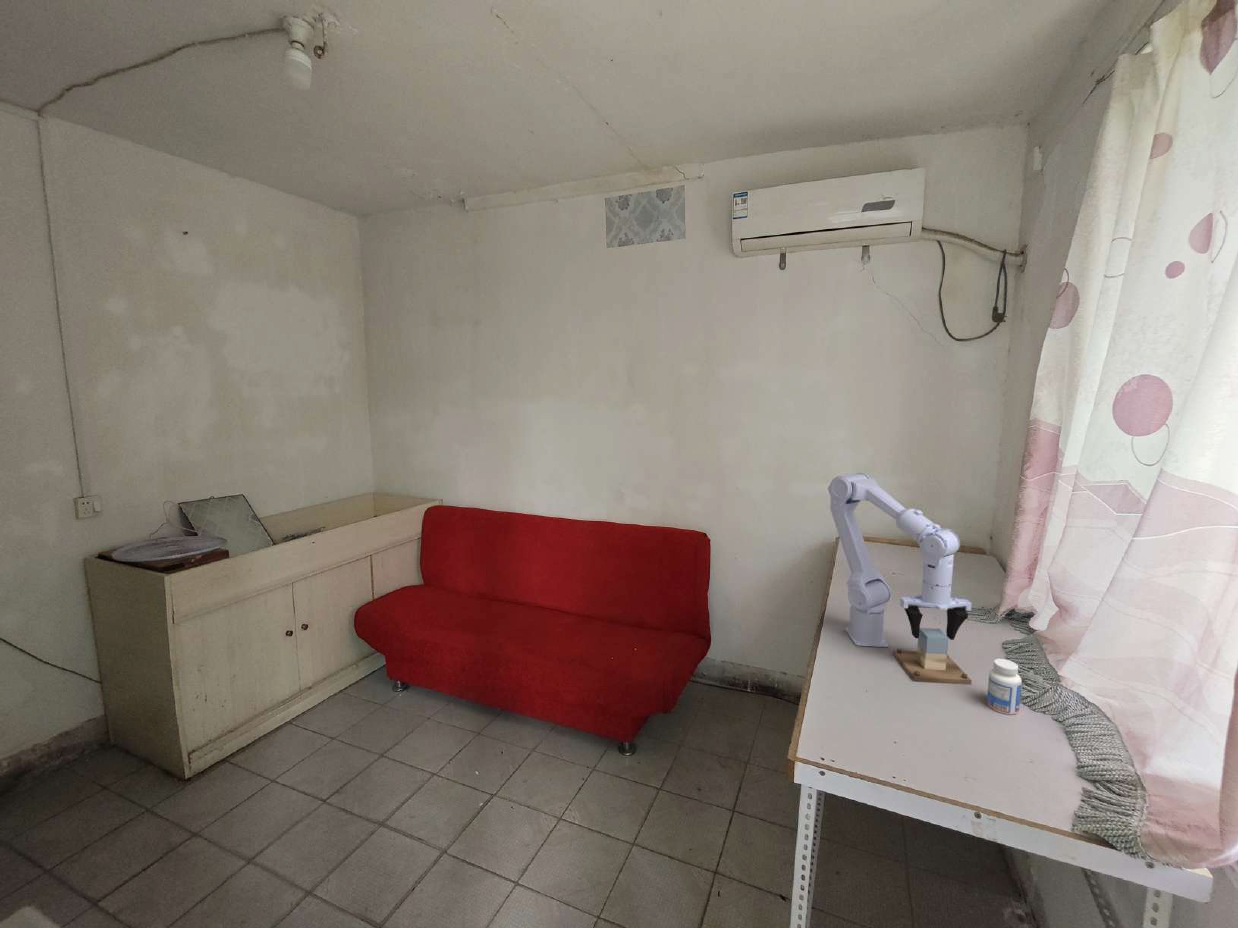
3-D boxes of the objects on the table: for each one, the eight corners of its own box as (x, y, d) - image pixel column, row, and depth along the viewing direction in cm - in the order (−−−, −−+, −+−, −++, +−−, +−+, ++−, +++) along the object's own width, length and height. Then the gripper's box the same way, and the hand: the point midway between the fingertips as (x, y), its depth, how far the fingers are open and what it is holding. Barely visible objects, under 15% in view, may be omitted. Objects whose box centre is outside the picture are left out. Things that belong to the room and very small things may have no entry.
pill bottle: (1005, 698, 109) (1009, 656, 108) (1025, 714, 104) (1030, 670, 103) (980, 699, 109) (984, 657, 108) (999, 715, 104) (1003, 671, 102)
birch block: (916, 658, 124) (917, 643, 123) (936, 659, 123) (937, 644, 123) (924, 669, 119) (925, 653, 119) (945, 670, 119) (946, 654, 118)
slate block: (917, 643, 123) (918, 627, 122) (937, 644, 122) (939, 628, 122) (926, 653, 119) (927, 637, 118) (947, 654, 118) (948, 637, 117)
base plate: (893, 653, 128) (893, 647, 128) (945, 656, 126) (945, 649, 126) (913, 681, 116) (914, 674, 116) (971, 684, 115) (971, 677, 114)
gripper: (910, 587, 115) (906, 643, 117) (980, 589, 113) (975, 647, 115) (898, 575, 122) (894, 629, 124) (964, 577, 120) (959, 632, 122)
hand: (932, 637), depth 120 cm, fingers open, 7 cm apart
